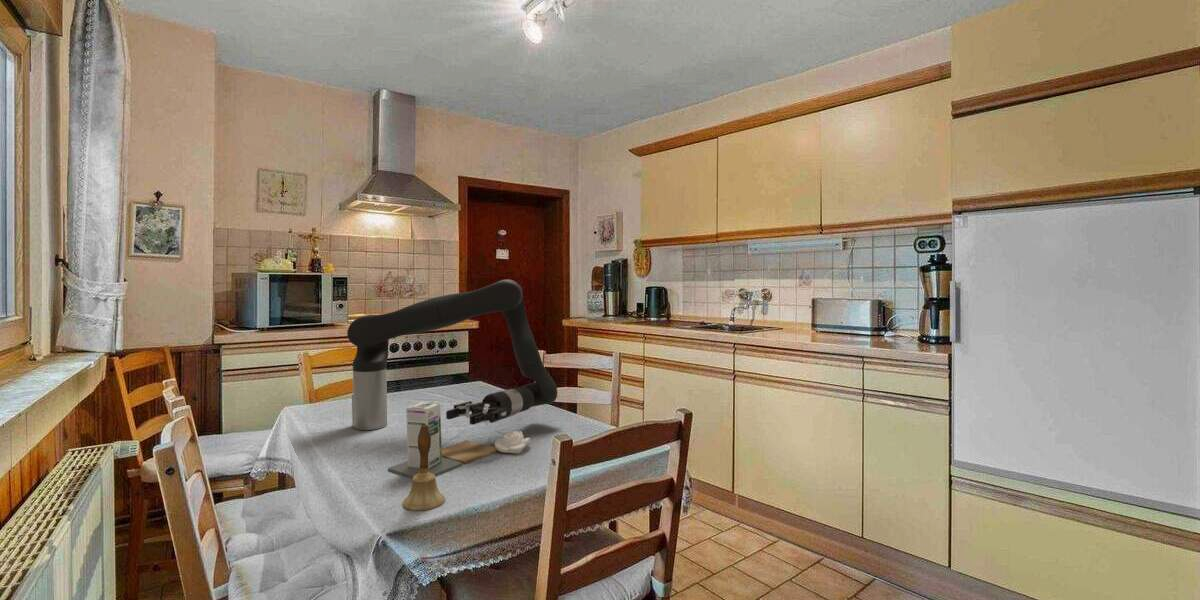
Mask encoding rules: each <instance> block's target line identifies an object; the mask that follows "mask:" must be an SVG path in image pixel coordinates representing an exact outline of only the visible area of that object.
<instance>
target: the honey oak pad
mask: <svg viewBox="0 0 1200 600" xmlns="http://www.w3.org/2000/svg"><path fill="white" fill-rule="evenodd" d="M441 450H442V457H443V458H446V459H450V460H453V461H457V462H461V463H462V465H467V464H470V463H471V462H475V461H477V460H479V459H481V458H485V457H486V456H489V455H491V454H494V453H497V452H499V451H498V450H497V448H496V447H495V446H493V445H489V444H488V445H487V444H484V443H480V442H475V441H472V440H467V439H466V440H464V441H461V442H457V443H455V444H452V445H449V446H446V447H443V448H441ZM496 451H497V452H496Z"/></svg>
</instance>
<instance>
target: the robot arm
mask: <svg viewBox="0 0 1200 600" xmlns="http://www.w3.org/2000/svg"><path fill="white" fill-rule="evenodd" d="M497 312H498V313H499V312H501V313H502V315H503V316H504V319H505V321H506V324H507V327H508V330H509V335H510V339H511V345H512V348H513V352H514V356H515V359H516V361H517V364H518V365H517V366H518V367H519V370H520V373H521V375H522V376H523V377H524V378H531V379H532V380H533V382H531V383H528V384H525V385H522V386H519V387H514V388H509V389H504V390H500V391H496V392H493V393H488V394H487V395H485V396H484V397H483V399H482V400H481V401H477V402H476V403H473V401H466V402H462V403H459V404H458V403H457V404H455V405H453V408H452V409H449V410H447V411H446V413H445V417H446V420H453V419H455V418H459V417H466V418H469V425H476V424H479V423H487V422H489V423H496V422H497V421H498V422H499V421H501V420H503V419H507V418H510V417H513V416H515V415H517V414H518V413H521V412H525V411H527V410H529V409H530V408H533V407H537V406H542V405H548V404H552V403H554V402H555V401H556V400H557V398H558V388H557V385H556V382H555V381H554V379H553V377H552V376H551V375H550V373H549V371H548V370H547V368H546V367H545V365H544V364H543V360H542V358H541V355H540V354H541V353H540V352H539V349H538V346H537V343H536V341H535V338H534V334H533V332H532V330H531V327H530V324H529V321H528V316H527V313H526V307H525V302H524V291H523V288H522V287H521V285H520V283H518V282H517V281H515V280H514V279H510V278H509V279H507V278H506V279H501V280H499V281H496V282H494V283H492V284H489V285H487V286H483V287H481V288H479V289H475V290H470V291H466V292H458V293H451V294H446V295H440V296H436V297H433V298H429V299H424V300H422V301H421V300H420V301H418V302H415V303H413V304H411V305H407V306H405V307H403V308H400V309H398V310H394V311H392V312H387V313H382V314H368V315H364V316H360V317H357V318H355V319H354V320H353V321H352V322H351V323H350V325H349V326H348V328H347V333H346V335H347V338H348V341H349V342H350V343H351V344H352V345H354V346H355V347H356V353H355V357H354V358H353V361H352V385H353V386H352V391H353V393H352V395H351V415H352V416H351V417H352V420H351V421H352V422H351V423H352V425H351V426H353V428H354V429H355V430H358V431H359V430H360V431H368V430H369V431H372V430H379V429H382V428H384V427H386V426H387V425H388V393H387V392H388V390H387V389H388V388H387V386H388V385H387V382H388V380H387V362H388V358H389V340H392V339H395V338H398V337H401V336H402V337H403V336H409V335H415V334H421V333H425V332H432V331H435V330H440V329H443V328H447V327H450V326H454V325H457V324H459V323H462V322H464V321H467V320H469V319H472V318H474V317H476V316H480V315H485V314H492V313H497Z"/></svg>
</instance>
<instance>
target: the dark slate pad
mask: <svg viewBox="0 0 1200 600" xmlns="http://www.w3.org/2000/svg"><path fill="white" fill-rule="evenodd" d="M461 466H463V463H461V462H457V461H453V460H450V459H446V458H443V457H442V461H441V462H439V463H438V464H436V465H434V466H432V467H431V468H430V469H428V472H429V473H432V474H434V475H435V477H437V476H439V475H442V474H444V473H447V472H449V471H452V470H454V469H457V468H459V467H461ZM387 471H389V472H390V473H391V472H392V473H395V474H398V475H401V476H404V477H408V478H411V479H413V477H414V476H415V475H417V474H418V473H419V472H420V469H419V468H412V467H409V466H408V460H407V461H404V462H401V463H397V464H395V465H392V466H390V467H387Z"/></svg>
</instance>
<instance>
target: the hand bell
mask: <svg viewBox="0 0 1200 600" xmlns="http://www.w3.org/2000/svg"><path fill="white" fill-rule="evenodd" d="M430 446H431V435H430V432H429V429H428V425H422V426H421V429H420V432H419V435H418V449H419V452H420V472H419V473H418V474H417V475H415V476H414V477H413V478H411V479H412V481H411V487H410V490H409V493H408V495H407V496H406V497H405V498H404V500H403V501H402V507H403V508H404V509H406V510H410V511H429V510H432V509H436V508H438V507H440V506H442V505H443V504H444V503H445V502H446V498H445V496H444V494H443V493H441V492H440V489H439V488H438V485H437V480H436V476H435V475H434V474H432V473H429V472H428V467H429V466H428V454H429V450H430Z"/></svg>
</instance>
